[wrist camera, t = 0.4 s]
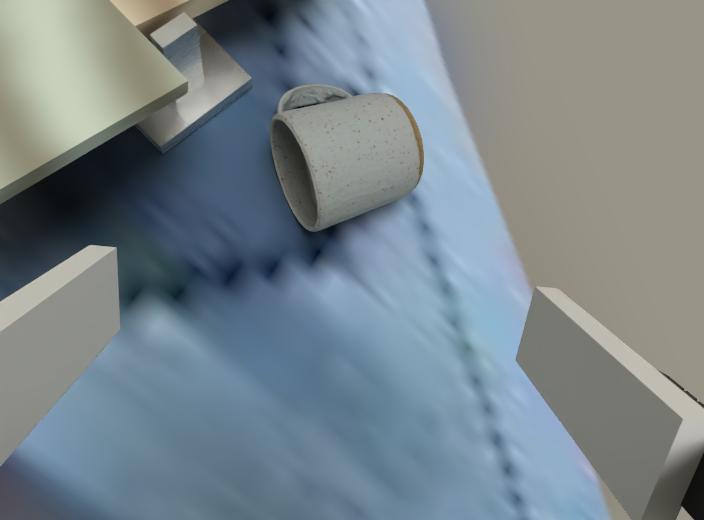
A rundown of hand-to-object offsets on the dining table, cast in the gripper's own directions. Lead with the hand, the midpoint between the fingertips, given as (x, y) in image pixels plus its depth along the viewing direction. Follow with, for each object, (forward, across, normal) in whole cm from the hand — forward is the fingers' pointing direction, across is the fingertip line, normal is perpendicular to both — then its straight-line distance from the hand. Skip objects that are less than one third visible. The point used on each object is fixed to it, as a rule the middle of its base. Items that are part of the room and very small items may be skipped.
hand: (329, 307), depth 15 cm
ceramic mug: (+21, 0, -2) cm, 21 cm away
